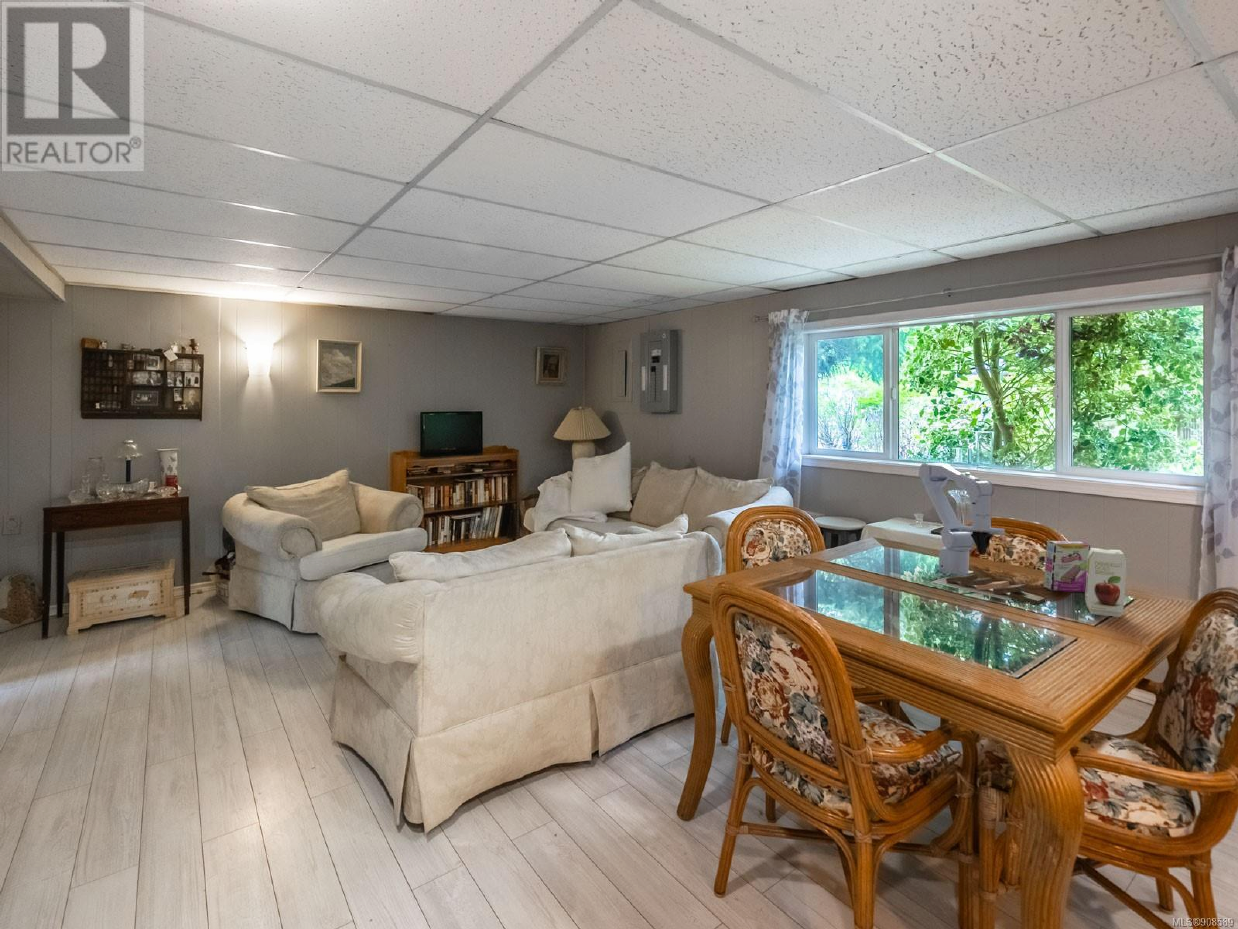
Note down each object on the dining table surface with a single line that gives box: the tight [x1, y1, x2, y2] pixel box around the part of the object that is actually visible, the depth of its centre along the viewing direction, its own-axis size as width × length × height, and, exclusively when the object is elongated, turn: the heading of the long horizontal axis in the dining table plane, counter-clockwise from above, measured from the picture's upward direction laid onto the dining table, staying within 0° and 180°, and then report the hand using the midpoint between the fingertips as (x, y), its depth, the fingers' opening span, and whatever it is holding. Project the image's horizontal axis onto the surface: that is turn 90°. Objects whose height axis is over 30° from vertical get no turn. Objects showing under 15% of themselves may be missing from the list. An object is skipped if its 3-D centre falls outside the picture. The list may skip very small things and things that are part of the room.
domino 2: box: [960, 576, 994, 586], centre depth 203 cm, size 2×5×8 cm
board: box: [931, 576, 1014, 601], centre depth 203 cm, size 25×11×1 cm, turn 33°
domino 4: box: [993, 583, 1028, 594], centre depth 194 cm, size 2×5×8 cm
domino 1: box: [946, 573, 978, 583], centre depth 207 cm, size 2×5×8 cm
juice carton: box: [1084, 547, 1127, 618], centre depth 178 cm, size 8×9×19 cm
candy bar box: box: [1043, 540, 1091, 593], centre depth 201 cm, size 11×5×16 cm, turn 84°
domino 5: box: [1009, 591, 1046, 605], centre depth 190 cm, size 2×5×8 cm
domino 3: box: [976, 580, 1011, 590], centre depth 199 cm, size 2×5×8 cm
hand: (982, 553), depth 211 cm, fingers closed
